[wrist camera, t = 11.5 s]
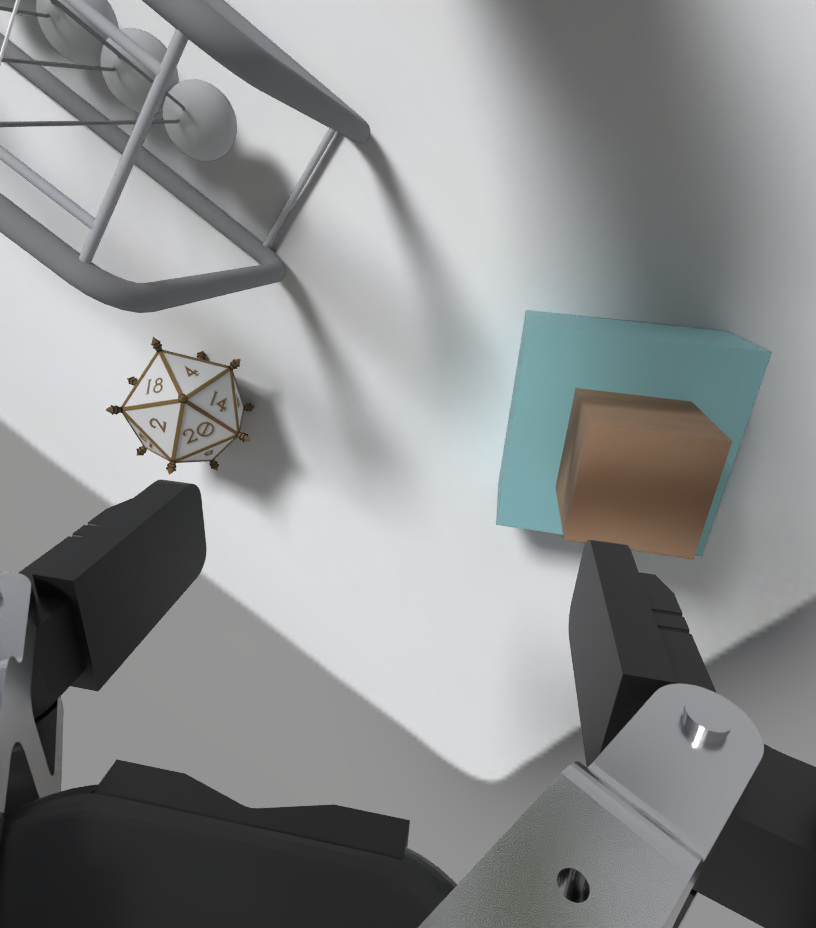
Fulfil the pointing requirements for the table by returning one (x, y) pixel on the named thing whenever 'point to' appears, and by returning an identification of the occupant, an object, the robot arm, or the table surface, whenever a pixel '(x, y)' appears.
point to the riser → (621, 371)
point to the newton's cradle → (186, 121)
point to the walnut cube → (639, 472)
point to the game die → (184, 408)
